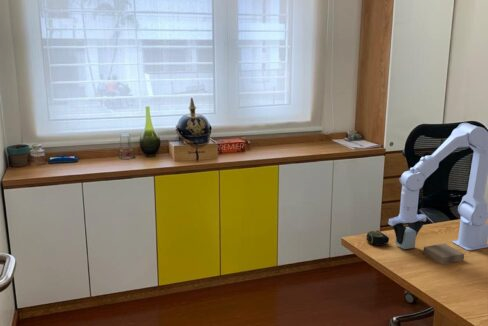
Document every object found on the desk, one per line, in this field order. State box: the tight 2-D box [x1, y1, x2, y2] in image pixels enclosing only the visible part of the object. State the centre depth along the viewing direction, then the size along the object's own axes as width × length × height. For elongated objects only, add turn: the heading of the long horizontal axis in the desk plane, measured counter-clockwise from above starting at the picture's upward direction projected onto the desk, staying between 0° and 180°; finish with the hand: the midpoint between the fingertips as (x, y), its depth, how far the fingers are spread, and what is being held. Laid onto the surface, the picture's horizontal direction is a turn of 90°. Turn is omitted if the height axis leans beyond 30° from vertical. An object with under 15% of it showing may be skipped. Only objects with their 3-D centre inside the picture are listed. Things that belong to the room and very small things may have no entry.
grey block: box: [395, 226, 417, 250], centre depth 172 cm, size 5×5×6 cm
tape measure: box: [365, 230, 390, 246], centre depth 177 cm, size 7×7×4 cm
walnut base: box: [422, 243, 465, 266], centre depth 165 cm, size 9×9×3 cm
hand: (405, 241), depth 173 cm, fingers closed on grey block, 5 cm apart
